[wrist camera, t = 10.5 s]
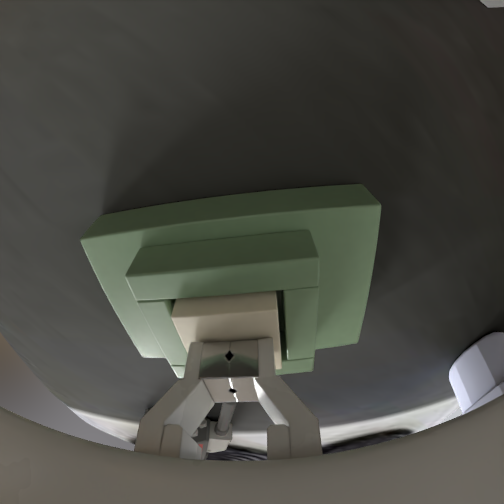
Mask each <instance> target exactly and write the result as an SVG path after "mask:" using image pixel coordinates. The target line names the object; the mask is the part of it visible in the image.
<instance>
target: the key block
mask: <svg viewBox="0 0 504 504" xmlns="http://www.w3.org/2000/svg"><path fill="white" fill-rule="evenodd" d="M380 214H381V204H380V203H379V202H378V201H377V200H376V198H375V197H374V196H373V195H372V194H371V193H370V192H369V191H368V190H367V189H366V188H365V187H364V186H363V184H351V185H334V186H319V187H306V188H294V189H283V190H272V191H262V192H253V193H243V194H235V195H226V196H218V197H211V198H203V199H196V200H189V201H182V202H175V203H169V204H162V205H156V206H150V207H144V208H138V209H132V210H127V211H121V212H116V213H110V214H105V215H101V216H100V217H99V218H98V219H97V220H96V221H95V222H94V223H93V224H92V225H91V227H90V228H89V229H88V230H87V231H86V232H85V234H84V235H83V236H82V237H81V238H80V241H81V243H82V246H83V248H84V250H85V252H86V255H87V257H88V259H89V261H90V263H91V265H92V268H93V270H94V272H95V274H96V276H97V278H98V280H99V282H100V284H101V286H102V288H103V290H104V292H105V294H106V295H107V297H108V299H109V301H110V303H111V305H112V307H113V308H114V310H115V312H116V314H117V316H118V317H119V319H120V321H121V323H122V324H123V326H124V328H125V329H126V331H127V333H128V334H129V336H130V338H131V339H132V341H133V343H134V344H135V346H136V347H137V349H138V351H139V352H140V354H141V355H142V357H147V358H167V360H168V362H169V364H170V365H171V367H172V369H173V370H174V372H175V374H176V375H177V377H178V378H184V372H185V366H186V361H187V355H188V353H187V351H186V349H185V347H184V345H183V343H182V340H181V338H180V336H179V334H178V332H177V329H176V327H175V325H174V323H173V320H172V318H171V315H172V312H173V308H174V304H175V301H176V298H192V297H206V296H220V295H232V294H244V293H256V292H267V291H276V297H277V307H278V319H279V332H280V345H281V359H282V369H276V375H281V374H291V373H300V372H308V371H313V367H314V356H315V349H321V348H329V347H336V346H342V345H349V344H355V343H358V339H359V335H360V331H361V327H362V322H363V318H364V313H365V309H366V304H367V299H368V294H369V289H370V284H371V278H372V272H373V266H374V260H375V253H376V247H377V239H378V231H379V223H380Z"/></svg>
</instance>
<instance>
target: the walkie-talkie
mask: <svg viewBox="0 0 504 504" xmlns="http://www.w3.org/2000/svg"><path fill="white" fill-rule="evenodd" d="M236 404H237V402H223V404H222V408H221V412H220V415H219V419H218V422H214V421H210V420H209V419H207V418H206V417H205V418H204V420H203V421H202V422H201V424H200V425H199V427H198V428H197V429H196V431H195V432H194V433H193V435H192V436H191V438H192V439H193V440H194V441H195V442H196V443H197V444H198V445H199V446H200V447H201V448H202V455H201V460H205V458H207V457H208V453H209V452H211V453H212V452H218V451H223V450H225V449H226V448H227V446H228V443H229V442H231V440H232V427H233V425H232V424H231V423H230V421H231V418H232V415H233V413H234V410H235V407H236ZM150 409H151V408H148V409H146V411H145V415H146V414H147V413H148V411H149V410H150Z"/></svg>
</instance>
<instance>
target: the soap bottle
mask: <svg viewBox="0 0 504 504" xmlns="http://www.w3.org/2000/svg"><path fill="white" fill-rule="evenodd" d="M449 380H450V383H451V385H452V388H453V390H454V392H455V395H456V398H457V400H458V403H459V405H460V408H461V411H462V413H463V414H465V413H467V412H470V411H472V410H474V409H476V408H478V407H480V406H482V405H484V404H486V403H488V402H490V401H492V400H494V399H495V398H497V397H499V396H501V395H503V394H504V333H503V332H493V333H491V334H489V335H486V336H484V337H483V338H481V339H480V340H478V341H477V342H475V343H474V344H473V345H472V346H470V347H469V348H468V349H467V350H465V351H464V352H463V353H462V354H461V355H460V357H459V358H458V359H457V360H456V361H455V362H454V364H453V365H452V367H451V369H450V371H449ZM463 414H462V415H463Z"/></svg>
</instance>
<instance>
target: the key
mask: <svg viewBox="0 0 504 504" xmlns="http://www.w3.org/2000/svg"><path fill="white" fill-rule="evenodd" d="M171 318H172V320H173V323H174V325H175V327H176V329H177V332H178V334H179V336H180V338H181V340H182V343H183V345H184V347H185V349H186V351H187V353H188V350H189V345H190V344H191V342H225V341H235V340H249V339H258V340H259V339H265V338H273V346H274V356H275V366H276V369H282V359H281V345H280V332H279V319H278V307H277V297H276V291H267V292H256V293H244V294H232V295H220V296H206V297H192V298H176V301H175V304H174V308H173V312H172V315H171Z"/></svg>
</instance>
